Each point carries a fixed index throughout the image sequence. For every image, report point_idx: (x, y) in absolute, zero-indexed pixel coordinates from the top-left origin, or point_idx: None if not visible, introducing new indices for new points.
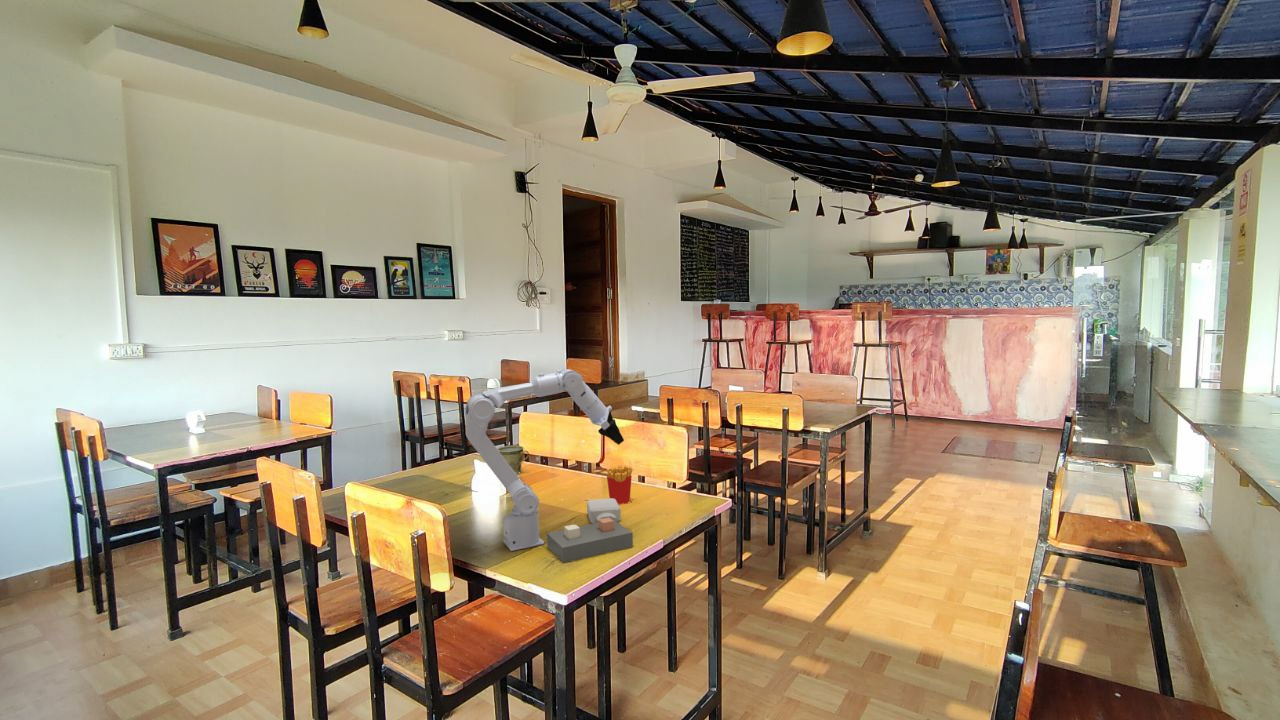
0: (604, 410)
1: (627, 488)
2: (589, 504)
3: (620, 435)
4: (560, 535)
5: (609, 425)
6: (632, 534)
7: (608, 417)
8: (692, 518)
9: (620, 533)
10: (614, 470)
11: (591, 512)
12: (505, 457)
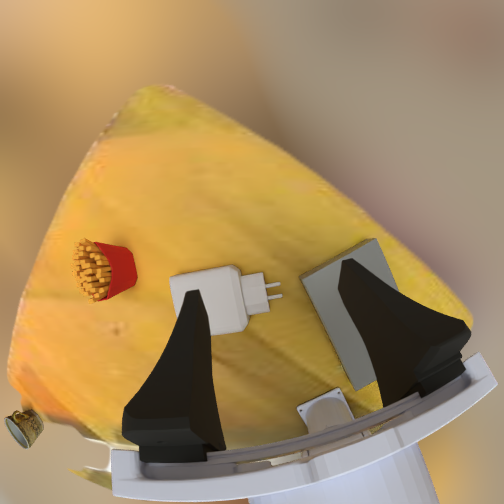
0: (420, 464)
1: (116, 251)
2: None
3: (378, 280)
4: (372, 367)
5: (479, 353)
6: (374, 238)
7: (201, 401)
8: (230, 126)
9: (379, 261)
10: (93, 284)
11: (244, 327)
12: (32, 439)
